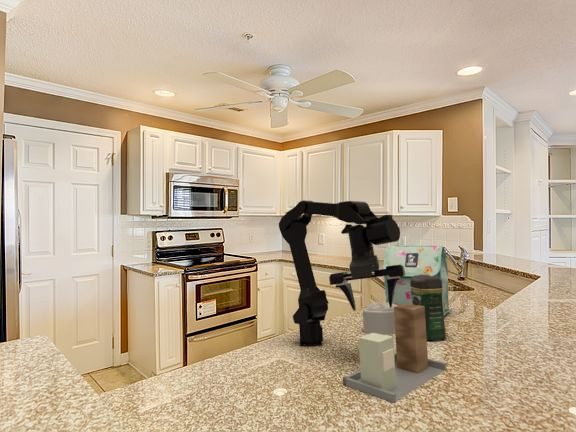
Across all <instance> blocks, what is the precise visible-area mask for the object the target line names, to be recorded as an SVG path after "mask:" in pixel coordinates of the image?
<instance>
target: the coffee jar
mask: <svg viewBox="0 0 576 432" xmlns="http://www.w3.org/2000/svg"><path fill="white" fill-rule="evenodd" d="M410 286H411V287H410V288H411V293H412V305H420V306H425V322H426V338H427V341H429V340H430V341H433V342H434V341H435V342H436V341H441V340H444V339H446V336H447V335H446V332H447V331H446V322H445V318H444V317H445V316H444V314H443V304H442V292H443V288H442V281H441V279H439V278H438V277H433V276H428V275H415V276H413V277H412V278H411V281H410Z"/></svg>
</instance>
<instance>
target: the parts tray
mask: <svg viewBox="0 0 576 432" xmlns="http://www.w3.org/2000/svg"><path fill="white" fill-rule="evenodd" d="M394 359H395V376H396V387H394V388H393V389H391V390H389V391H387V390H384V389H381V388H378V387H375V386H372V385H369V384H366V383H363V382H361V372H360V369H359V370H356V371H355V372H352V373H350V374H348V375H346V376H344V377H342V385H343V386H345V387H347V388H351V389H353V390H355V391H356V390H357V391H359V392H362V393H365V394H369V395H371V396H373V397H376V398H379V399H382V400H385V401H388V402H390V403H393V404H394V403H396V402H398V401H399V400H401V399H403V398H404V397H406V396H407V395H409V394H410V393H412V392H413V391H414V390H415V391H416V389H418V388H419V387H421V386H423V385H425V384H426V383H427V382H429V381H431V380H433V379H434V378H436V377H438V376H439V375H440V374H442V373H443V372H445V371H446V370H447V362H444V361H439V360H435V359H431V358H428V368H426V369H425V370H423V371H421V372H420V373H418V374H417V373H413V372H410V371H406V370H402V369H399V368H397V353H396V352H394Z"/></svg>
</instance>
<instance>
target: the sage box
mask: <svg viewBox="0 0 576 432" xmlns="http://www.w3.org/2000/svg"><path fill="white" fill-rule="evenodd" d="M358 347H359V348H358V349H359V350H358V351H359V366H360V367H359V368H360V369H359V370H360V372H361V382H363V383H366V384H369V385H372V386H375V387H378V388H381V389H384V390H387V391H389V390H391V389H393V388H394V387H396V376H395V359H394V354H395V345H394V336H392V335H382V334H377V333H370V334H365V335H363V336H360V337H358Z"/></svg>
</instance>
